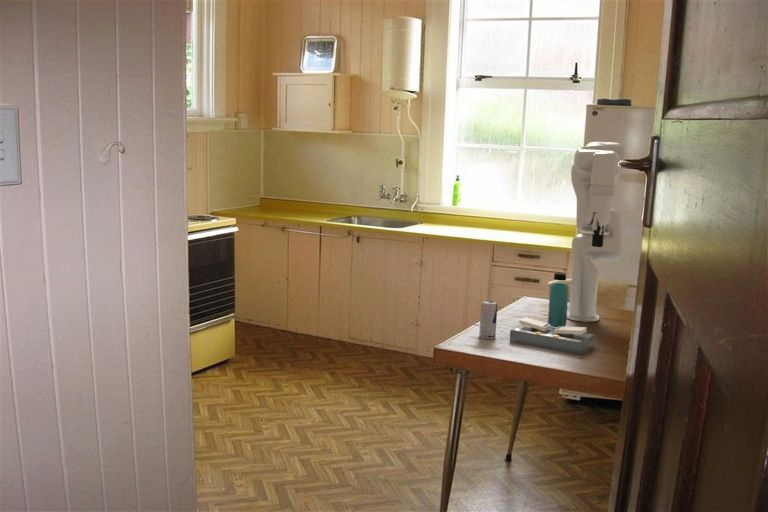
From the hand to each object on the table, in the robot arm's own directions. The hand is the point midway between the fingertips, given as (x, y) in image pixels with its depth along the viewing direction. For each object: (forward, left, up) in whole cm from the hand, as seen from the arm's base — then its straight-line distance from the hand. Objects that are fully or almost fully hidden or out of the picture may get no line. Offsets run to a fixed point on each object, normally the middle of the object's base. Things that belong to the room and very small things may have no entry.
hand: (597, 246), depth 259 cm
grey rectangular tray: (+13, -9, -32) cm, 35 cm away
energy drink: (+19, -29, -32) cm, 47 cm away
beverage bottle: (-6, -14, -32) cm, 35 cm away
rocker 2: (+13, -3, -26) cm, 29 cm away
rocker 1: (+13, -15, -26) cm, 33 cm away
